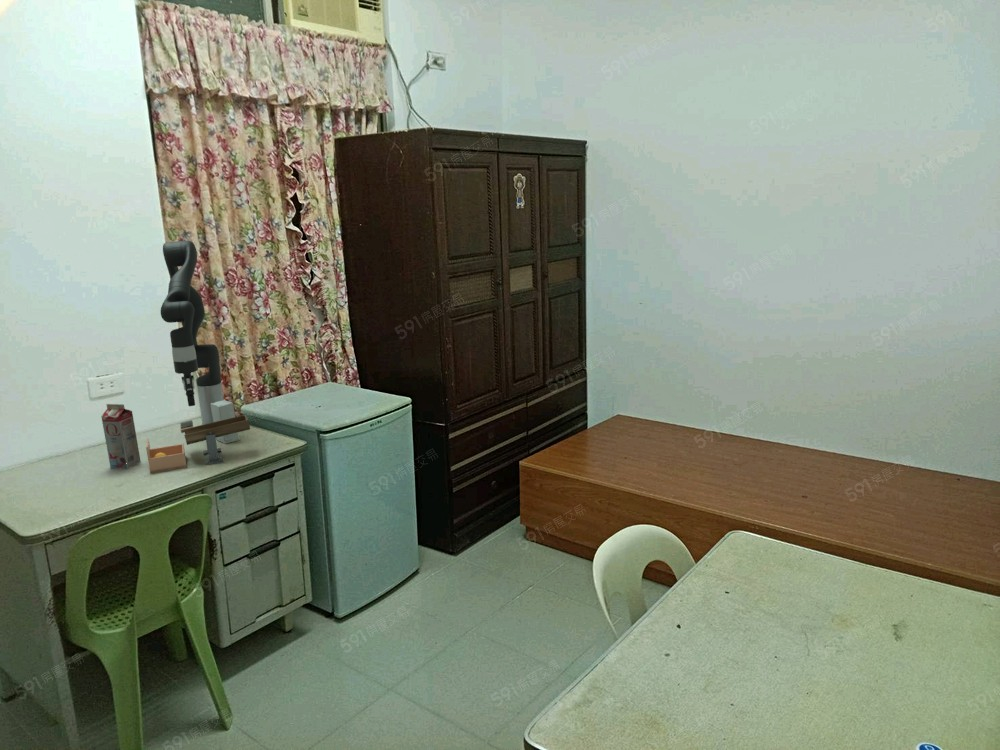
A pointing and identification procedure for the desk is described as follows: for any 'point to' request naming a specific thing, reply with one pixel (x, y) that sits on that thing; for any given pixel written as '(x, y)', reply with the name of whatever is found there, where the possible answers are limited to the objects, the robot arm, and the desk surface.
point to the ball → (160, 455)
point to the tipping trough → (214, 428)
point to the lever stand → (212, 450)
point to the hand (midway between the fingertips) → (191, 402)
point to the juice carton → (120, 436)
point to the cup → (166, 458)
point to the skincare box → (222, 412)
